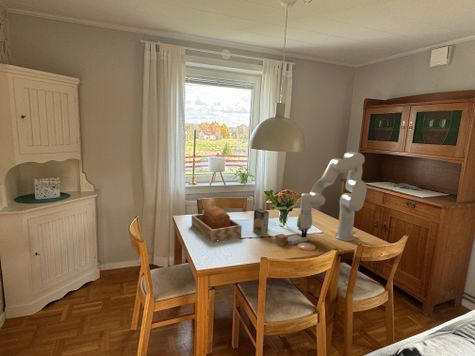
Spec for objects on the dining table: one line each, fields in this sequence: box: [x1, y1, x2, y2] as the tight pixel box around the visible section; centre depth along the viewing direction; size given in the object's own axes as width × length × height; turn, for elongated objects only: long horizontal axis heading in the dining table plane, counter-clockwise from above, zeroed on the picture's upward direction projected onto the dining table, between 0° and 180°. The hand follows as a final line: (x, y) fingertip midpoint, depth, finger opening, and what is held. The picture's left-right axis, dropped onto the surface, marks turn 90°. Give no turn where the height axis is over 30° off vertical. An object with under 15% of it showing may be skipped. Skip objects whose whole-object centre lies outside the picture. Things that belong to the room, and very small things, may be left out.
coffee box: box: [252, 208, 270, 236], centre depth 200 cm, size 9×6×16 cm
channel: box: [285, 232, 309, 245], centre depth 189 cm, size 14×9×2 cm, turn 121°
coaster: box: [297, 242, 316, 252], centre depth 179 cm, size 11×11×1 cm
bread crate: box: [191, 213, 243, 243], centre depth 200 cm, size 22×34×8 cm, turn 31°
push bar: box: [286, 235, 303, 245], centre depth 187 cm, size 12×5×3 cm, turn 124°
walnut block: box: [275, 233, 288, 247], centre depth 183 cm, size 6×6×6 cm
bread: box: [202, 205, 231, 230], centre depth 203 cm, size 14×26×16 cm, turn 24°
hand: (303, 237), depth 193 cm, fingers closed
